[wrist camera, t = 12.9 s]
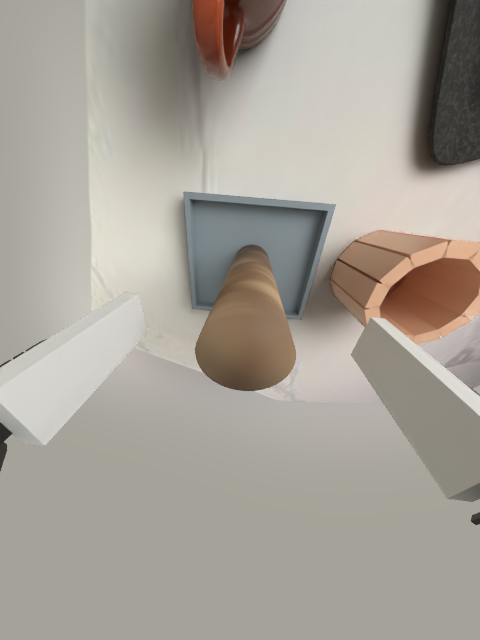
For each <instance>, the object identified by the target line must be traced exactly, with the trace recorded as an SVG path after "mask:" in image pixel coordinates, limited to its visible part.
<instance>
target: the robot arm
mask: <svg viewBox="0 0 480 640" xmlns="http://www.w3.org/2000/svg"><path fill="white" fill-rule="evenodd" d="M147 333H148V330H147V326H146V321H145V317H144V313H143V309H142V305H141V301H140V296H139V293H131V292H125V293H123V294H122V295H120V296H118V297H117V298H115V299H113V300H112V301H110V302H108V303H107V304H105V305H103V306H102V307H100V308H98V309H97V310H95V311H93V312H92V313H90V314H88V315H87V316H85V317H83V318H82V319H80V320H79V321H77V322H75V323H73V324H72V325H70V326H68V327H67V328H65V329H63V330H62V331H60V332H58V333H57V334H55V335H53V336H52V337H50V338H48V339H46V340H43V341H41V342H39V343H38V344H36V345H34V346H32V347H31V348H29V349H27V350H26V352H22V353H21V354H19V355H17V356H15V357H14V358H13V360H9V361H7V362H5V363H4V364H2V365H0V471H1V467H2V464H3V461H4V458H5V455H6V452H7V444H6V443H4V441H5V440H6V439H7V438H8V437H9V436H10V435H11V434H13V435H14V436H16V437H17V438H18V439H19V440H20V441H21V442H22V443H27V444H35V445H43V446H45V445H46V444H47V443H48V442H49V441H50V439H51V438H52V437H53V436H54V435H55V434H56V433H57V432H58V431H59V430H60V428H61V427H62V426H63V425H64V424H65V423H66V422H67V421H68V420H69V419H70V418H71V416H72V415H73V414H74V413H75V412H76V411H77V410H78V409H79V408H80V407H81V405H82V404H83V403H84V402H85V401H86V400H87V399H88V398H89V397H90V396H91V394H92V393H93V392H94V391H95V390H96V389H97V388H98V387H99V386H100V384H101V383H102V382H103V381H104V380H105V379H106V378H107V377H108V376H109V375H110V374H111V373H112V371H113V370H114V369H115V368H116V367H117V366H118V365H119V364H120V362H122V360H123V359H124V358H125V357H126V356H127V355H128V354H129V353H130V352H131V351H132V350H133V348H134V347H135V346H136V345H137V344H138V343H139V342H140V341H141V340H142V339H143V337H144V336H145V335H146V334H147ZM351 356H352V357H353V358H354V360H355V361H356V363H357V364H358V366H359V367H360V369H361V370H362V372H363V373H364V375H365V376H366V378H367V379H368V381H369V382H370V384H371V385H372V387H373V388H374V390H375V391H376V393H377V394H378V396H379V397H380V399H381V400H382V402H383V403H384V405H385V406H386V408H387V409H388V411H389V412H390V414H391V415H392V417H393V418H394V420H395V421H396V423H397V424H398V426H399V427H400V429H401V430H402V432H403V433H404V435H405V436H406V438H407V439H408V441H409V442H410V444H411V445H412V447H413V448H414V450H415V451H416V453H417V454H418V456H419V457H420V459H421V460H422V462H423V463H424V464H425V466H426V468H427V469H428V470H429V472H430V474H431V475H432V477H433V478H434V480H435V481H436V483H437V484H438V486H439V487H440V489H441V490H442V492H443V493H444V495H445V496H446V498H447V499H455V500H462V501H470V502H473V501H476V500H478V499H480V395H479V394H478V393H477V392H476V391H474V390H473V389H471V388H470V387H468V386H467V385H465V384H464V383H463V382H462V381H460V380H459V379H458V378H457V377H456V376H454V375H453V374H452V373H451V372H450V371H448V370H447V369H446V368H445V367H443V366H442V365H441V364H440V363H439V362H437V361H436V360H435V359H434V358H432V357H431V356H430V355H429V354H428V353H426V352H425V351H424V350H423V349H421V348H420V347H419V346H418V345H417V344H415V343H414V342H413V341H412V340H410V339H409V338H408V337H407V336H406V335H404V334H403V333H402V332H401V331H399V330H398V329H397V328H396V327H395V326H393V325H392V324H391V323H390V322H388V321H387V320H386V319H385V318H375V317H370V319H369V321H368V323H367V325H366V327H365V329H364V331H363V333H362V334H361V336H360V338H359V340H358V342H357V344H356V346H355V348H354V349H353V351H352V353H351ZM471 522H472V523H474V524H475V525H478V524H480V513H477V514H474V515H472V518H471Z"/></svg>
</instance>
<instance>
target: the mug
mask: <svg viewBox="0 0 480 640" xmlns="http://www.w3.org/2000/svg"><path fill="white" fill-rule="evenodd" d="M285 3H286V0H192V7H193V25H194V35H195V42H196V46H197V50H198V54H199V57H200V60H201V63H202V66H203V68H204V70H205V71H206V73H207V74H208V76H210V77H211V78H213V79H215V80H218V81H226V80H227V79H228V78H229V77H230V75H231V72H232V69H233V65H234V61H235V58H236V55H237V52H238V49H249V48H252V47H254V46H256V45H257V44H259V43H260V42H261V41H262V40H264V39H265V38H266V37H267V36H268V34H269V33H270V32H271V31H272V29H273V28H274V26H275V25H276V23H277V21H278V20H279V18H280V16H281V13H282V11H283V9H284V6H285Z"/></svg>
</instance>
